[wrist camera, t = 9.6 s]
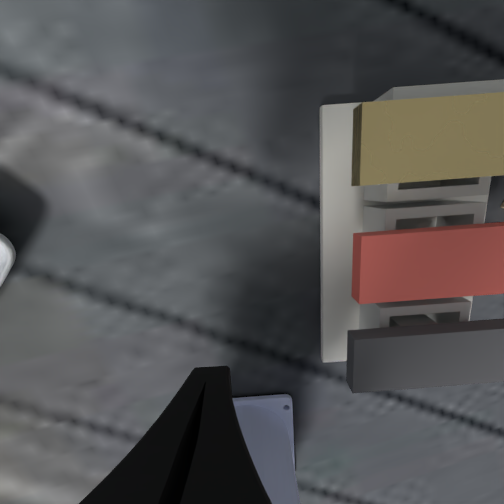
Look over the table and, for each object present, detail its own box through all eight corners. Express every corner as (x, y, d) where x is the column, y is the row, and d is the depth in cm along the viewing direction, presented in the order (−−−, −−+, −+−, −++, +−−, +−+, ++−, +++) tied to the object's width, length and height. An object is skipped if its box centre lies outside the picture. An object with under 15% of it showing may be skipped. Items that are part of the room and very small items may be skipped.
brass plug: (489, 175, 16) (567, 170, 12) (332, 186, 16) (359, 185, 12) (498, 112, 15) (585, 86, 11) (332, 124, 15) (362, 102, 11)
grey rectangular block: (463, 341, 19) (519, 380, 15) (331, 351, 19) (352, 392, 15) (470, 297, 18) (531, 326, 14) (331, 307, 18) (354, 340, 14)
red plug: (480, 267, 17) (549, 290, 13) (333, 278, 17) (359, 304, 13) (489, 213, 16) (565, 221, 12) (333, 225, 16) (361, 236, 12)
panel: (457, 347, 20) (499, 378, 17) (320, 357, 20) (335, 390, 17) (494, 95, 16) (560, 70, 12) (319, 108, 16) (339, 86, 12)
